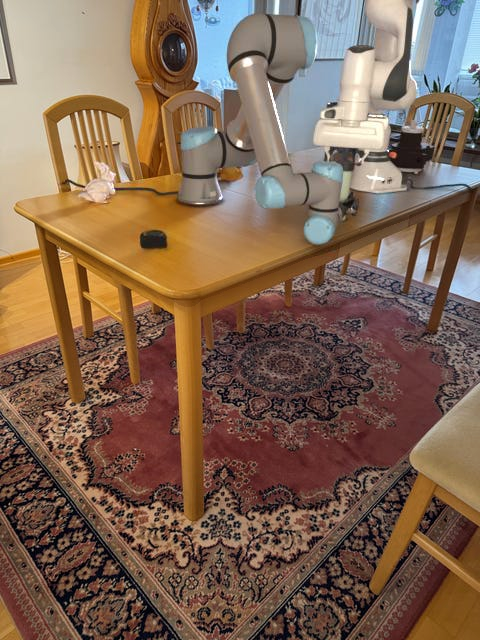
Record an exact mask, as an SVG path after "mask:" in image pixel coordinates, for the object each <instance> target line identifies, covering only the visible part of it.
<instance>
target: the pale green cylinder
mask: <svg viewBox="0 0 480 640" xmlns="http://www.w3.org/2000/svg"><path fill="white" fill-rule="evenodd" d="M352 174H353V171H343V183H342V188H341V194H340V200H339V201H345V200H347V199H348V196H349V194H350V191H351V188H350V183H351V177H352ZM346 218H347V215H345V216H344V218H343V220H342V221H345V220H346ZM342 221H341V222H342Z"/></svg>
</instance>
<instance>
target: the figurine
mask: <svg viewBox="0 0 480 640" xmlns="http://www.w3.org/2000/svg"><path fill="white" fill-rule="evenodd" d="M93 164H94V166H95V167H96V168H97V169H98V170H99V174H100V176H99V177H100V178H93V179H91V180H90V181H89V182H88V183H86V185H85V186H86V187H85V188H82V192H80V193H78V195H77V197H78V198H79V199H81V200H83V199H84V200H87V202H88V201H90V202H94V203H95V204H96V203H97V204H98V203H100V204H107V203H108V201H106V199H109V198H111V196H110V195H115V194H116V191H115V190H114V188H115V187H114V186H115V185H114V181H115V177H116V175H117V174H116V173H115V172H113V171H111V170H110V167H109V165H108V164H106V163H105V162H103V161H101V162H99V161H96V160H95V161H94V162H93Z"/></svg>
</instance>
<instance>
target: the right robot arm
mask: <svg viewBox="0 0 480 640" xmlns="http://www.w3.org/2000/svg"><path fill="white" fill-rule="evenodd" d="M419 3H420V0H415V5H417V4H419ZM364 13H365V15H366V18H367V20H368V22H369V23H370V24H371V25H372V26H373V27H374V28H375V35H374V41H373V46H372V45H368V44H367V45H366V44H358V45H352V46H349V47H348V48H347V49H346V51H345V54H344V58H343V62H342V66H341V71H340V78H339V94H338V98H337V101H336V102H337V105H336V106H331V107H329V108H327V107H326V108H323V109H321V110H320V112H319V117H320V119H318V121H317V123H316V124H315V127H314V132H313V137H312V143H313V145H314V146H315V147H324V153H325V152H326V155H327V156H328V158H327V161H330V162H333V160H334V156H333V155H332V156H330V154H329V151H328V150H330V147H344V148H357V149H356V155H355V167H354V170H353V171H352V175H351V183H350V189H352V190H355V191H359V192H367V193H372V194H386V193H387V194H388V193H393V192H394V193H395V192H404V191H408V186H406V185H408V183H409V182H410V184H409V187H410V188H411V189H416V190H418V189H419V190H431V189H441V188H446V187H461V186H462V187H466V188H467V189H468V190H472V187H471V186H470V185H469V184H466V183H452V184H451V183H450V184H449V183H448V184H442V185H441V184H440V185H433V186H425V187H415V186H414V181H413V179H411V178H409V176H408V174H406V173H402V171H400V170H399V169H398V168H397V167H396V166H395V165H394V164H393V163H392V162H391V161H390V157H392V158H395V157H396V156H397V154H395V152H390V151H388V149H389V145H390V141H391V140H390V139H391V135H392V128H391V125H390V120H389V119H390V118H389V117H388V116H386V115H385V114H383V111H392V112H397V111H402V110H403V111H404V110H407V109H409V108H410V107H411V106H412V105H413V104H414V102H415V100H416V98H417V94H418V87H417V83H416V81H415V79H414V78H413V77H412V71H411V59H412V45H413V30H414V0H365V4H364Z"/></svg>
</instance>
